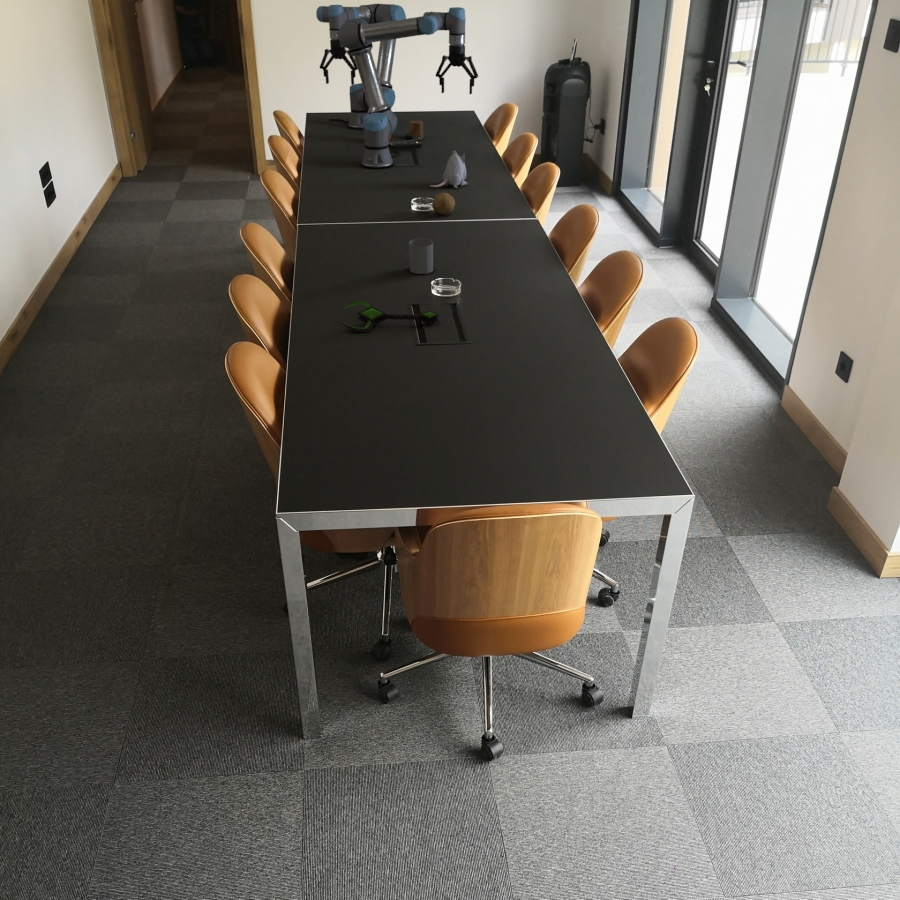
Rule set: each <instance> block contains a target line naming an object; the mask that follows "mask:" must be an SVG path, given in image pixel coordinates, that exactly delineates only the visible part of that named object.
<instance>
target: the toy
mask: <svg viewBox="0 0 900 900" xmlns="http://www.w3.org/2000/svg"><path fill="white" fill-rule="evenodd" d="M466 178H467V168H466V156H465V153H463V154H462V155H459V154H458V153H457V151H456V150H455V149H453V150H452V153H451V155H450V156H449V158H448V161H447V163H446V166H445V170H444V171H443V177H442V179H443V181H442V182H441V183H439V184H436V185H435V184H433V185H432V184H430V185H428V186H429V187H434V188H440V187H443V186H446V187H448V186H449V185H451V186H453V188H455V189H459V187H458V186H461V187H462V186H467V185H468V182H467V181H465V180H466Z"/></svg>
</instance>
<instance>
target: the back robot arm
mask: <svg viewBox="0 0 900 900" xmlns="http://www.w3.org/2000/svg"><path fill="white" fill-rule="evenodd" d="M315 13H316V19H317V21H319V22H320V23H325V24H326V23H327V24H328V27H329V29H328V31H329V39H330V40H329V43H330V44H329V45H330V47H329V48H330V49H328V48H326V49H324V54H323V57H322V59H321V62H320V64H319V69H321V70H322V71H323V77H325V84H326V85H328V84H330V78H329V69H328V67H329V66H330V65H331V63H332V62H333V61H334V60H343V61H344V62H345V64H347V66H348V67H349V69H350V84H351V85H349V92H348V93H349V105H350V115H349V119H348V120H345V119H342V118H329V119H328V120H329V121H331V122H333V121H335V122H336V121H339V122H343V123H346V124H347V126H348V128H349V129H352V130H364V126H363V122H364V117H365V116H366V115H368V110H369V105H368V101H367V98H366V95H365V91H364V88H363V85H362V82H359V83H355V78H356V75H357V74H356V71H358V68H357V65H356V62H355V58H354V56H353V55H351V54H350V53H349V49H347V48H346V47H344V46H343V45H342V44H341V42H340V40H339V36H338V34H339V29H340V27H341V26H342V25H343V24H344V23H346V22H348V21H350V20H353V19H362V20H364V21H366V22H367V23H368V24H375V23H382V22H388V21H395V20H402V19H407V15H406V12H405V10H404V8H403V7H402V6H401V5H399V4H394V3H392V4H391V3H371V4H360V5H359V6H344V5H342V4H330V5H327V6H326V5H320V6H318V7H317V9H316V12H315ZM396 43H397V39H391V40H385V41H379V48H378V53H377V54H378V55H377V61H376V62H377V63H376V70H377V73H378V77H379V80H380V84H381V87H382V90H383V94H384V97H385V101H386V103H387V104H389V105H390V107H391V109H392V108H393V106H394V105H395V102H396V92H395V90H394V89H393V85H392V83H391V81H392V74H393V73H392V72H393V67H394V59H395V51H396V45H397V44H396ZM329 54H330V55H331V56H330V57H329V59H328V60H327V58H328V56H329ZM346 54H347V55H348V57H349V59H350V60H349V59H348V57H347V55H346ZM326 61H327V62H326Z"/></svg>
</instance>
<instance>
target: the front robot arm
mask: <svg viewBox="0 0 900 900" xmlns="http://www.w3.org/2000/svg"><path fill="white" fill-rule="evenodd" d="M466 19H467V18H466V9H465V8H464V7H462V6H461V7H460V6H459V7H458V6H457V7H454V6H453V7H449V8H448V11H446V12H441V11H425V12H423V15H422V16H416V17H408V18H406V19H402V20H395V21H388V22H382V23H375V24H368V23H367V22H366V21H364V20H362V19H353V20H350V21H348V22H346V23H344V24H343V25H342V26H341V27H340V29H339V34H338V36H339V40H340V42H341V44H342V45H343V46H344V47H345V49H347V50H349V53H350V54H351V55H353V57H354V59H355V62H356V65H357V68H358V69H357V71H358V75H359V77H360V81H361V83H362V85H363V88H364V91H365V95H366V98H367V101H368V105H369V110H368V115H366V116H365V117H364V122H363V126H364V129H363V138H364V139H363V140H364V151H363V155H362V159H361V166H362V167H363V168H366V169H371V170H381V169H387V168H390V167H392V166H394V161H393V157H397V156H399V155H400V154H401V153H400V152H399V151H398V150H396V149H395V150H394V153H396V154H391V152H390V151H391V150H390V147H389V145H390V144H389V141H388V136H389V135H391V134H392V135H393V133H394V132H395V131H396V129H397V126H398V118H397V115H396V114H395V113H394V112H393V111H392V108H391V107H390V105H389V104H387V103H386V101H385V97H384V94H383V90H382V87H381V84H380V80H379V77H378V73H377V70H376V69H377V65H376V63H375V60H374V56H373V53H372V49H373V48H374V44H373V43H378V42H380V41H385V40H391V39H396V40H398V39H403V38H411V37H418V36H429V35H430V36H431V35H433V34H435V33H436V32H437V31H448V44H449V45H448V55H446V54H443V55H442V57H441V61H440V64H439V66H438V69H437V71H436V73H435V77H436V78H438V79H439V80H438V82H439V83H438V84H439V86H441V94H444V93H445V77H444V76H445V74H447V72H448V71H449V69H450V68H451V67H458V68H459V67H460V68H461V67H462V68H463V70H464V71H465V73H466V74H467V75H468V76H469V78H470V79H469V93H468V94H469V95H472V94H473V87H474V86H475V79H477V78H479V74H478V72H477V70H476V69H477V68H476V66H475V64H474V63H473V58H472V55H469V56H466V45H465V44H466ZM447 60H448V62H449V63H448V64H447V66H446V67H445V68H444V70H443V71H442V69H443V67H444V65H445V63H446V61H447ZM466 61H467V62H468V65H469V66H470V68H469V67H468V66H467V64H466V63H465V62H466ZM441 71H442V72H441ZM440 73H441V74H440ZM392 135H391V136H392Z"/></svg>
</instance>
